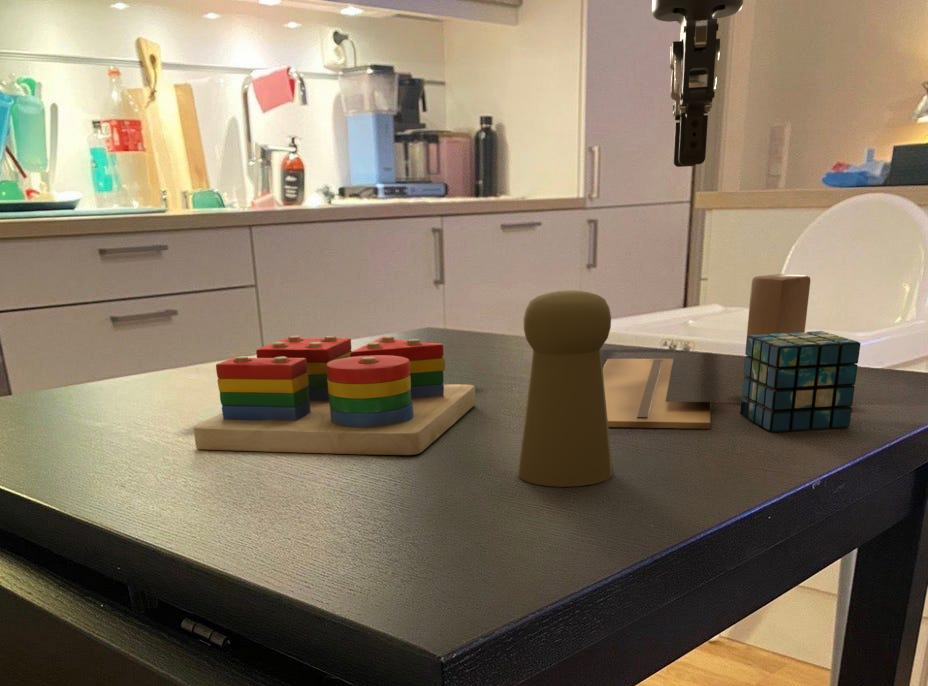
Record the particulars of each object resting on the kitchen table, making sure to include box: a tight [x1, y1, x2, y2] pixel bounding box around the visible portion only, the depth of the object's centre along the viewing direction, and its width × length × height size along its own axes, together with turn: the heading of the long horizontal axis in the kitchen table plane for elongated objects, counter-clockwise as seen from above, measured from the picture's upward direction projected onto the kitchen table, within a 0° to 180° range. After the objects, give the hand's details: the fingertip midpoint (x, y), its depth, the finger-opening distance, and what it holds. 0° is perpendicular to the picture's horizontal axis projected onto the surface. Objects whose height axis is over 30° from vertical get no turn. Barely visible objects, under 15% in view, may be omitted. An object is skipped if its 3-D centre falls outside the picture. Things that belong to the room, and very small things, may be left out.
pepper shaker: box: [517, 289, 614, 488], centre depth 60 cm, size 6×6×11 cm
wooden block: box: [746, 273, 811, 337], centre depth 94 cm, size 4×4×8 cm
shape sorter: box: [193, 335, 476, 456], centre depth 76 cm, size 18×17×6 cm
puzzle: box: [739, 330, 861, 433], centre depth 71 cm, size 6×6×6 cm
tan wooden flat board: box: [602, 358, 712, 430], centre depth 85 cm, size 10×28×1 cm, turn 166°
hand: (688, 165), depth 87 cm, fingers open, 8 cm apart
